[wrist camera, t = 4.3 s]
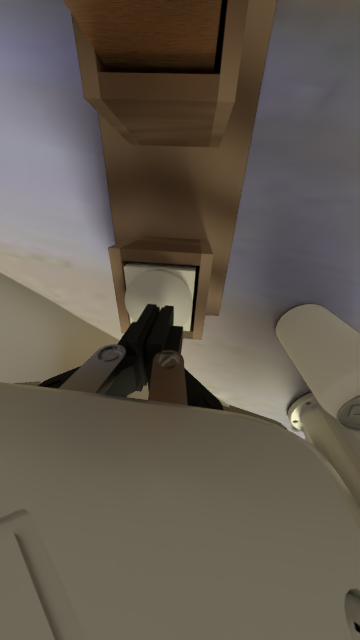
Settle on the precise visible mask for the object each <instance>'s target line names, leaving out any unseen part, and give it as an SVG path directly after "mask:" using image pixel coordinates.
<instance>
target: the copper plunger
mask: <svg viewBox="0 0 360 640" xmlns="http://www.w3.org/2000/svg"><path fill="white" fill-rule="evenodd" d="M64 2H65V3H66V5H67V7H68V8H69V10H70V11H71V13H72V15H73V16H74V18H75V19H76V21H77V22H78V24H79V26H80V27H81V29H82V30H83V32H84V33H85V35H86V37H87V38H88V40H89V41H90V43H91V44H92V46H93V48H94V49H95V51H96V52H97V54H98V56H99V57H100V59H101V60H102V62H103V63H104V65H105V67H106V68H107V70H108V71H109V72H110V73H169V74H213V72H214V63H215V54H216V46H217V37H218V28H219V20H220V11H221V2H222V0H64Z"/></svg>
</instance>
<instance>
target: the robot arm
mask: <svg viewBox="0 0 360 640" xmlns="http://www.w3.org/2000/svg"><path fill="white" fill-rule="evenodd" d="M173 324H174V306H168V305H165V307H162V308H161V310H160V307H157V305H156V304H147V306H146V307H145V309H144V310H143V312H142V314H141V315H140V317H139V319H138V320H137V322H132V323H131V325H130V326H129V328H128V329H127V331H126V332H125V334H124V335H123V337H122V338H121V340H120V341H119V343H118V344H111V345H107V346H104V347H102V348H100V349H99V350H97V351H96V352H95V353H94V354H93V355H92V356H91V357H90V358H89V359H88V360H87V361H86V362H85V363H84V364H83V365H82V366H80V367H77V368H75V369H72V370H70V371H67V372H65V373H63V374H60V375H57V376H55V377H52V378H50V379H48V380H46V381H44V382H42V383H41V382H40V381H39V382H25V383H3V382H0V640H360V433H359V432H353V431H350V430H347V429H345V428H343V427H342V426H340V425H339V423H338V422H337V419H336V418H335V417H333V416H332V415H330V414H329V413H328V412H326V411H325V410H324V409H323V408H322V406H321V405H320V404H319V402H318V401H317V399H316V398H315V396H314V395H313V393H312V392H311V393H309V394H306V395H304V396H302V397H301V398H299V399H298V400H296V401H295V402H294V403H293V404H292V405H291V407H290V409H289V411H288V417H289V420H290V422H291V424H292V425H293V426H294V427H295V428H296V429H298V430H300V431H302V432H303V433H304V435H305V440H304V439H302V438H301V437H299V436H298V435H296V434H294V433H292V432H290V431H288V430H287V428H286V427H284V426H283V425H282V424H281V423H279V422H277V421H275V420H272V419H269V418H266V417H263V416H261V415H258V414H255V413H252V412H249V411H246V410H243V409H240V408H237V407H234V406H231V405H229V407H226V406H223V405H222V404H221V403H220V401H219V400H218V399H217V398H216V397H215V396H214V395H213V394H212V393H211V392H209V391H208V390H207V389H206V388H205V387H204V386H203V385H202V384H201V383H200V382H199V381H198V380H197V379H196V378H194V377H193V376H192V375H191V374H190V373H189V372H188V371H187V370H186V369H185V368H184V360H183V357H182V355H181V349H182V339H183V327H182V326H173ZM147 383H148V389H149V397H148V400H143V399H135V398H131V397H132V393H133V392H134V391H142V388H143V385H145V386H146V385H147Z"/></svg>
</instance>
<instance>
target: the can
mask: <svg viewBox="0 0 360 640" xmlns="http://www.w3.org/2000/svg"><path fill="white" fill-rule="evenodd" d="M276 335H277V337H278V339H279V341H280V342H281V344H282V346H283V347H284V349H285V351H286V352H287V354H288V355H289V357H290V358H291V360H292V362H293V363H294V365H295V366H296V368H297V370H298V371H299V373H300V374H301V376H302V377H303V379H304V381H305V382H306V384H307V385H308V387H309V388H310V390H311V391H312V393H313V395H314V396H315V398H316V399H317V401H318V402H319V404H320V405H321V406H322V408H323V409H324V410H325V411H326V412H328V413H329V414H330V415H332V416H333V417H335V418H336V419H337V422H338V423H339V425H340V426H342V427H343V428H345V429H347V430H350V431H353V432H359V433H360V334H359V333H358V332H356V331H355V330H354V329H353V328H351V327H350V326H349V325H347V324H346V323H345V322H343V321H342V320H341V319H339V318H338V317H337V316H335V315H334V314H332V313H331V312H330V311H328V310H327V309H326V308H324V307H322V306H320V305H316V304H306V305H301V306H298V307H295V308H293V309H291V310H289V311H288V312H286V313H285V314H284V315H283V316H282V317H281V318H280V320H279V321H278V323H277V326H276Z"/></svg>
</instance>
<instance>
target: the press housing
mask: <svg viewBox="0 0 360 640" xmlns="http://www.w3.org/2000/svg"><path fill="white" fill-rule="evenodd" d="M276 3H277V0H222V2H221V11H220V20H219V28H218V37H217V46H216V54H215V63H214V72H213V74H169V73H110V72H109V71H108V70H107V68H106V67H105V65H104V63H103V62H102V60H101V59H100V57H99V56H98V54H97V52H96V51H95V49H94V48H93V46H92V44H91V43H90V41H89V40H88V38H87V37H86V35H85V33H84V32H83V30H82V29H81V27H80V26H79V24H78V22H77V21H76V19H75V18H74V16H73V15H72V13H71V16H72V22H73V28H74V35H75V41H76V47H77V54H78V60H79V66H80V73H81V79H82V85H83V92H84V98H85V99H86V100H87V101H88V102H89V103H90V104H91V105H92V106H93V107H94V108H95V109H96V110H97V111H98V116H99V123H100V131H101V138H102V145H103V153H104V160H105V168H106V175H107V182H108V190H109V197H110V205H111V212H112V219H113V227H114V234H115V242H116V245H114V246H111V247H109V248H108V250H109V256H110V263H111V269H112V275H113V282H114V288H115V294H116V301H117V307H118V313H119V320H120V326H121V332H122V333H125V332H126V331H127V329H128V328H129V326H130V325H131V323H130V315H129V313H128V311H127V309H126V306H125V293H126V282H125V273H124V266H125V265H126V264H128V263H129V262H130V261H137V262H151V263H166V264H181V265H196V270H195V282H194V293H193V304H192V315H191V325H190V331H183V338H187V339H198V340H202V334H203V327H204V319H205V315H214V316H219V310H220V305H221V300H222V294H223V289H224V283H225V278H226V273H227V267H228V262H229V256H230V251H231V246H232V240H233V235H234V229H235V224H236V219H237V213H238V208H239V202H240V197H241V192H242V186H243V181H244V176H245V170H246V165H247V159H248V154H249V149H250V143H251V138H252V132H253V127H254V122H255V116H256V111H257V105H258V100H259V95H260V89H261V84H262V78H263V73H264V68H265V62H266V57H267V52H268V46H269V41H270V35H271V30H272V25H273V19H274V14H275V8H276Z"/></svg>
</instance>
